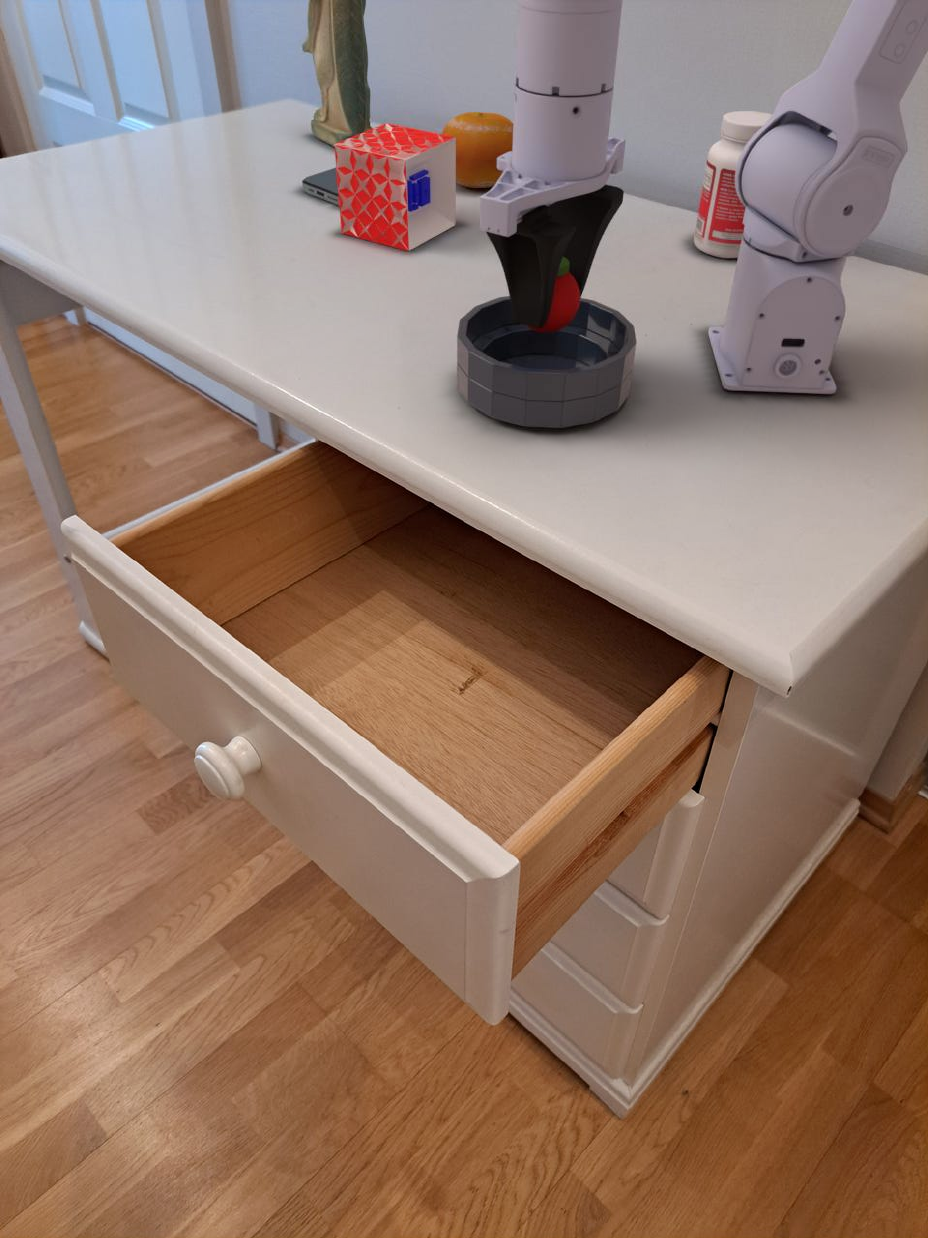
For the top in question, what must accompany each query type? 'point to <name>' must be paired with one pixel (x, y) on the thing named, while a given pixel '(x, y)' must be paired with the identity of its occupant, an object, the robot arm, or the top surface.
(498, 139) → the fruit
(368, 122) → the statue
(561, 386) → the bowl
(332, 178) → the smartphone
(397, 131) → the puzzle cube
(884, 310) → the top surface
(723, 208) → the pill bottle
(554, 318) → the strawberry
